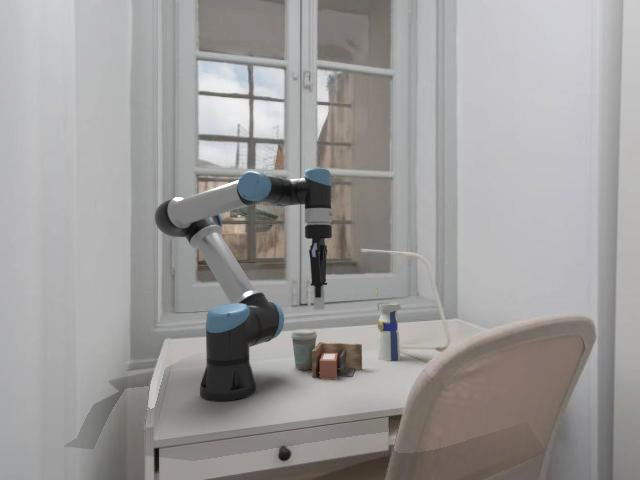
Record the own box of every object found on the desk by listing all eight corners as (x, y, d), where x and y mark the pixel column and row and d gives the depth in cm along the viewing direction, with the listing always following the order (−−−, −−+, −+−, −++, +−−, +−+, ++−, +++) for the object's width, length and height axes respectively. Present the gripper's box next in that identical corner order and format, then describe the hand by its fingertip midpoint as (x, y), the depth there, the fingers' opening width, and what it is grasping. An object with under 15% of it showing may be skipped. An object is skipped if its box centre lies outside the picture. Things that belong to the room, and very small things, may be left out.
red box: (319, 379, 123) (319, 360, 123) (322, 369, 131) (322, 352, 132) (336, 379, 122) (336, 360, 122) (338, 370, 131) (337, 352, 131)
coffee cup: (286, 367, 134) (285, 330, 134) (306, 362, 140) (305, 327, 140) (302, 373, 128) (302, 334, 128) (322, 367, 134) (322, 330, 134)
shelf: (312, 377, 124) (311, 350, 124) (319, 366, 135) (319, 342, 135) (357, 379, 121) (357, 352, 121) (362, 368, 132) (361, 344, 132)
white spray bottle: (385, 362, 138) (384, 289, 138) (372, 356, 146) (372, 286, 146) (405, 359, 141) (404, 287, 141) (392, 354, 149) (391, 285, 149)
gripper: (326, 222, 107) (327, 313, 106) (335, 225, 119) (336, 305, 119) (299, 223, 108) (300, 312, 108) (310, 225, 121) (311, 305, 121)
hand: (319, 308), depth 113 cm, fingers closed
